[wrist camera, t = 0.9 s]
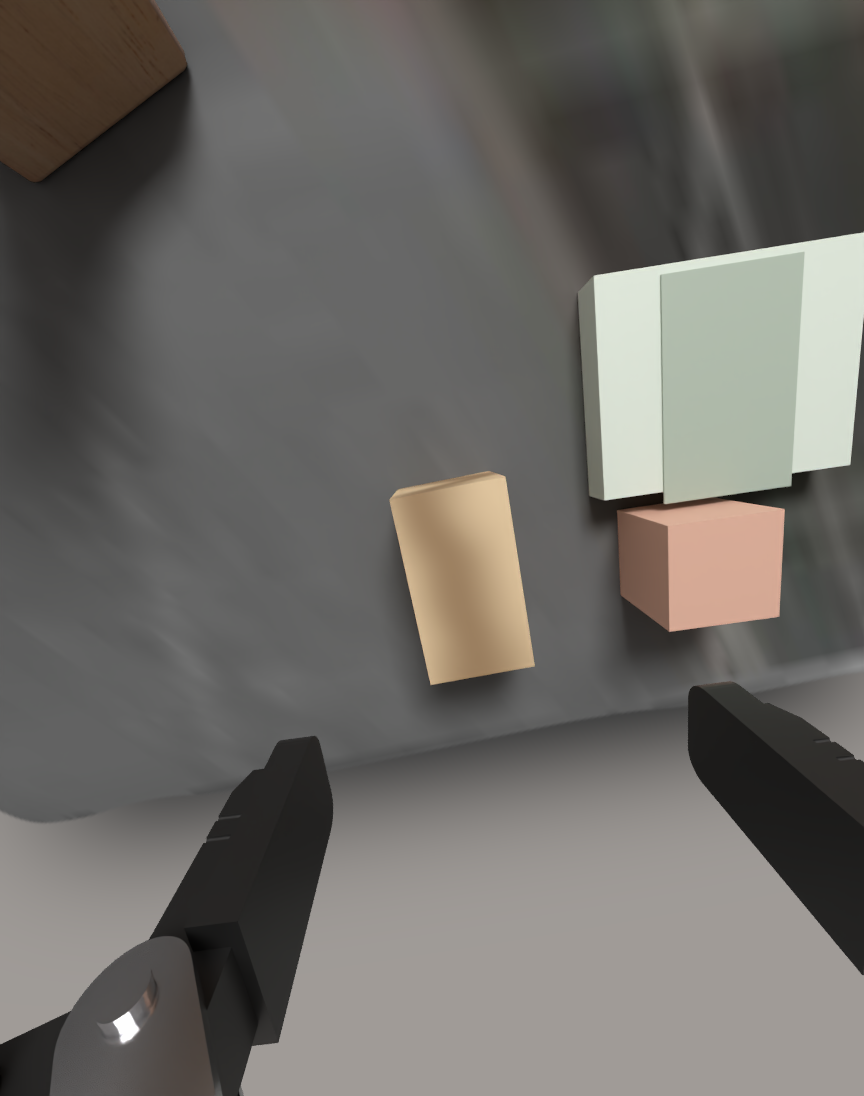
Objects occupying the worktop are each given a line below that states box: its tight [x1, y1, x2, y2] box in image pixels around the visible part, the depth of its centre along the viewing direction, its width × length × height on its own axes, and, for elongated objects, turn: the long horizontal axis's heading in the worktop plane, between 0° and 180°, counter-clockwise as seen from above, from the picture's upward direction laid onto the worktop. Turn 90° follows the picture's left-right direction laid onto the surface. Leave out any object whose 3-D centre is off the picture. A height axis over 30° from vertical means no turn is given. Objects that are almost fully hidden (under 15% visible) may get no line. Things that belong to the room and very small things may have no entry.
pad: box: [578, 233, 864, 504], centre depth 20 cm, size 12×11×2 cm
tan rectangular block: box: [390, 471, 535, 685], centre depth 21 cm, size 5×9×5 cm, turn 11°
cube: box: [617, 497, 785, 632], centre depth 21 cm, size 5×5×5 cm
